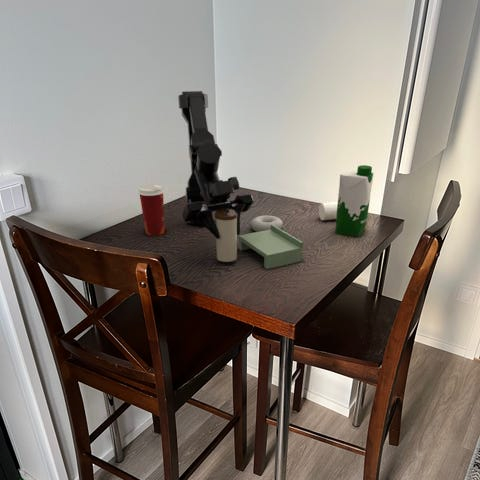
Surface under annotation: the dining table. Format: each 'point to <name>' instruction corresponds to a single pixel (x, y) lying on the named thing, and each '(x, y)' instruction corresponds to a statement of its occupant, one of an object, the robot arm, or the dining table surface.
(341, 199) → the milk carton
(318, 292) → the dining table surface
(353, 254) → the dining table surface
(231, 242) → the canister
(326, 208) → the roll
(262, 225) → the donut
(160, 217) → the paper cup
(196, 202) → the robot arm
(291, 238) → the shelf
